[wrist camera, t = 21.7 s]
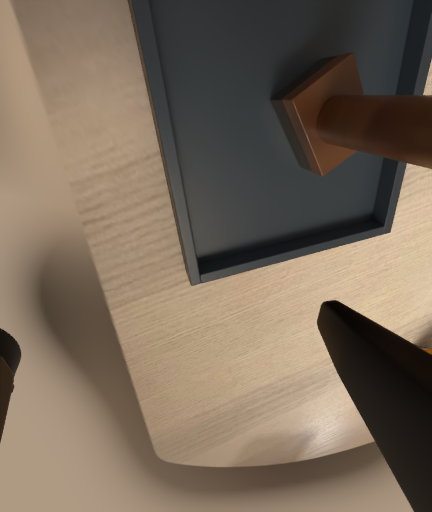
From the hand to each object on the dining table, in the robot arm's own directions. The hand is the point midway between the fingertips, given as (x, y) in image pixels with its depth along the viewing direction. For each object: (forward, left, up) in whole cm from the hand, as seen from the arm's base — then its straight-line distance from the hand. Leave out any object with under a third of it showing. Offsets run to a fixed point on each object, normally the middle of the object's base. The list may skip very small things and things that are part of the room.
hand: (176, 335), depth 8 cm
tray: (+10, +4, -13) cm, 17 cm away
